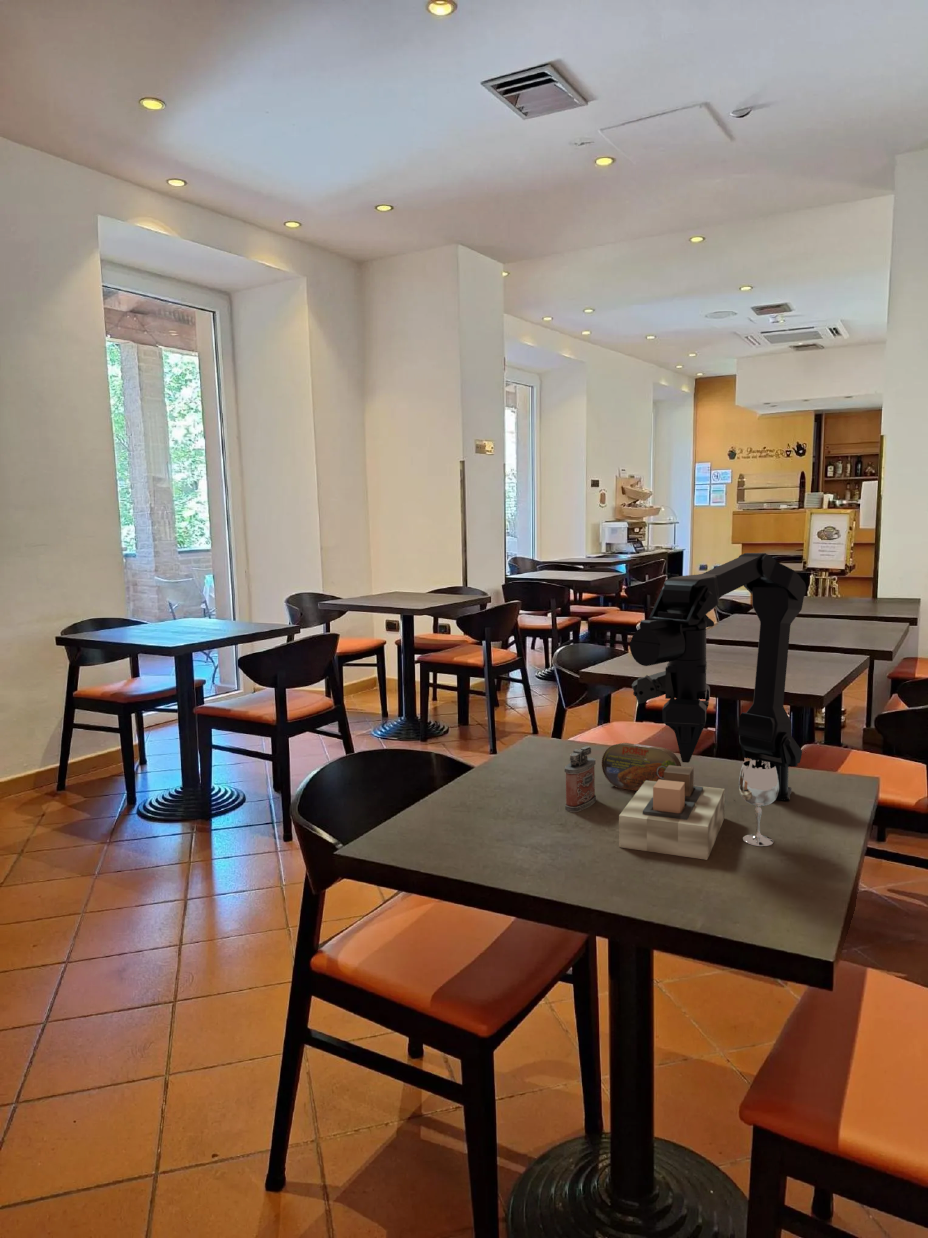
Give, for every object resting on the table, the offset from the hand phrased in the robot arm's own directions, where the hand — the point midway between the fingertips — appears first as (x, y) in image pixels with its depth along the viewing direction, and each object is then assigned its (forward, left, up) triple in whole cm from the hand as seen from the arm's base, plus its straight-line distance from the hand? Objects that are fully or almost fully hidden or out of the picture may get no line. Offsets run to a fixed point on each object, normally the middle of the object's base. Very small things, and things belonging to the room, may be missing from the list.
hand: (687, 753), depth 130 cm
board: (+3, -2, -12) cm, 13 cm away
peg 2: (+7, -2, -9) cm, 11 cm away
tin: (-16, -11, -12) cm, 23 cm away
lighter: (-4, -19, -12) cm, 23 cm away
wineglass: (+2, +11, -12) cm, 17 cm away
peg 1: (-1, -2, -9) cm, 9 cm away
